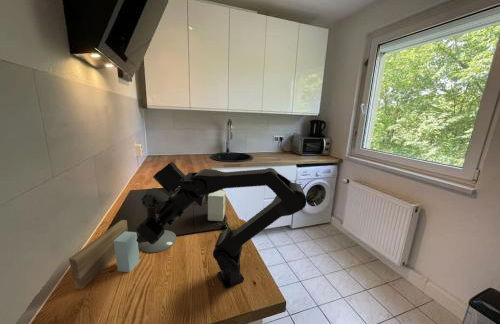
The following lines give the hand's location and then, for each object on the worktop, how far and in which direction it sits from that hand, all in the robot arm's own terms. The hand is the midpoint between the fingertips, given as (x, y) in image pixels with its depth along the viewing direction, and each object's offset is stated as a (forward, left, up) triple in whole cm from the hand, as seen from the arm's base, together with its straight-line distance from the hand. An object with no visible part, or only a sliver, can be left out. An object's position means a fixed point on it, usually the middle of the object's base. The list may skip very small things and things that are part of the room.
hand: (147, 232), depth 62 cm
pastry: (+9, -35, -14) cm, 39 cm away
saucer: (+13, -4, -13) cm, 19 cm away
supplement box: (+20, -31, -14) cm, 40 cm away
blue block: (+4, +6, -13) cm, 15 cm away
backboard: (+9, +12, -13) cm, 20 cm away
